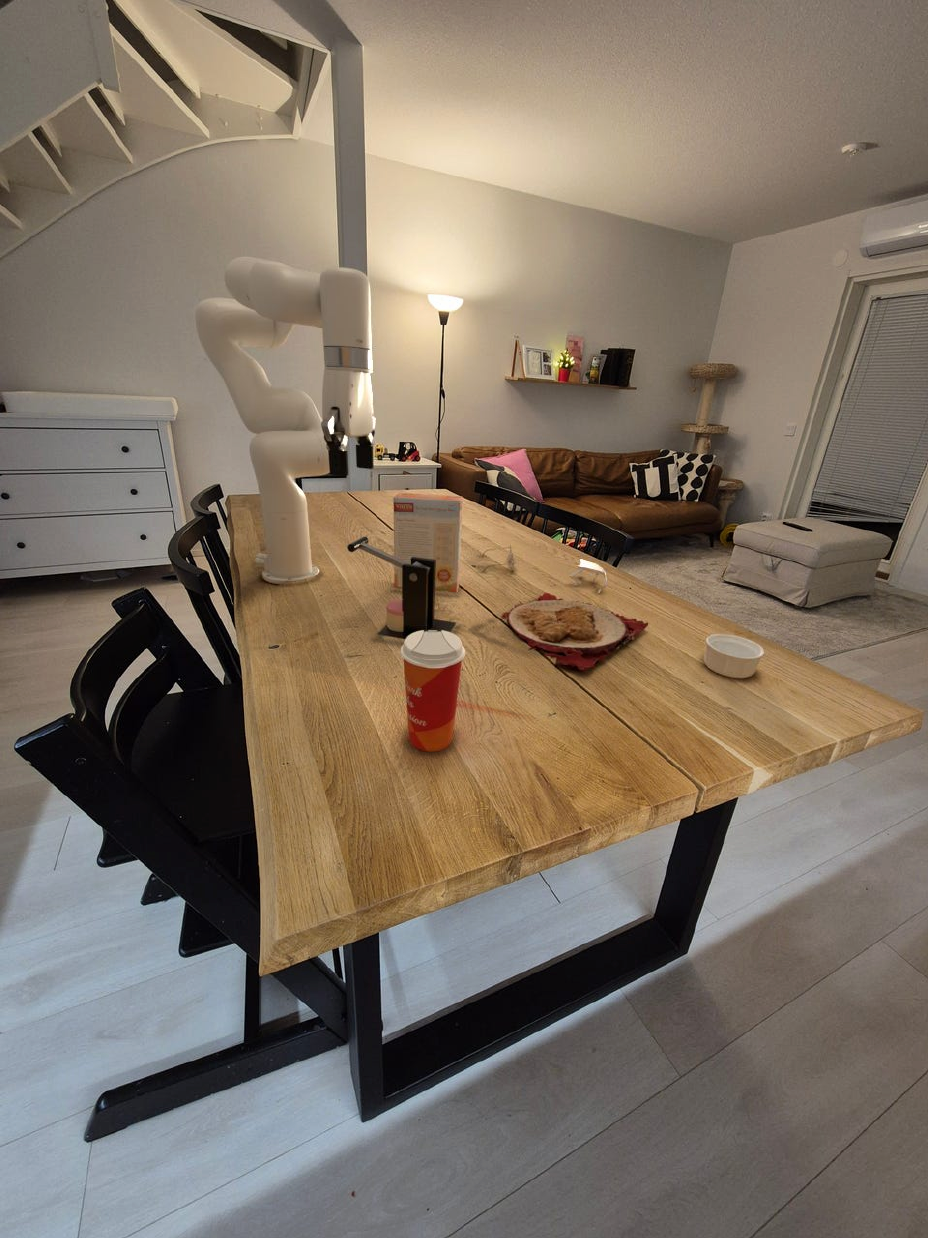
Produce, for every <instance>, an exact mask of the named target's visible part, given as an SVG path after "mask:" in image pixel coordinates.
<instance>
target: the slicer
mask: <svg viewBox="0 0 928 1238" xmlns="http://www.w3.org/2000/svg"><path fill="white" fill-rule="evenodd" d="M416 561H417V562H419V563H421V564H423V565H426V566H420V565H413V564H414V563H415V562H416ZM427 566H428V567H430V570H429V573H428V567H427ZM435 576H436V560H433V559H425V558H418V557H412V558H411V564H405V563H404V564H403V565H402V587H401V600H402V611H403V632H397V631H393V630H390V629H389V628H388V627H387V624H386V625H385V626H383V628H382V629H380V631H379V632H377V635H378V636H384V637H390V638H395V639H401V640H405V639H406V638H407V637H408V636H409V635H410V634H412V633H414V632H417V631H421V630H424V632H428V630H437V632H441V630H443V631H447V632H450V633H452V631H453V630H454V628H455V627H456V626H457V624H458V622H456V621H449V620H445V619H438V618H435V611H436V609H435V608H436V590H435Z"/></svg>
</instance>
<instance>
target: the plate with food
mask: <svg viewBox="0 0 928 1238" xmlns="http://www.w3.org/2000/svg"><path fill="white" fill-rule="evenodd" d="M562 597H563V596H562ZM562 597H561V598H557V596H556V595H553V594H551V593H549V592H544V593H543V594H542V595H539V596H538V597H537V599H536V600H531V601H529V603H527V602H526V603H521V604H518V605H517V604H515V605H514V607H513V608H511V609H510V611H506V612H504V613H502V614H501V618H506V617H507V618H506V621H507V623H508V624H509V626H510V628H511V629H512V631H513V633H515V634H516V635H517V636H518V637H519V638H520V639H521V640H522V641H525V642H526V645H528V646H529V647H530V648H528V649H531V650H536V649H537V647H538V648H540V649H541V651H542V652H544V650H546V651H545V652H544V655H546V656H550V659H555V662H556V663H558V664H562V665H564V666H571V667H577V669H578V670H579V671H584V670H588V669H589V668H594V666H595V663H596V662H597V661H598V662H600V663H602V662H603V661H604V660H605V659H606V657H607V656H609V655H611V654H612V653H613V652H614V651H615V650H619V649H620V647H624V646H625V647H626V645H627V643H628V642H630V641H634V640H635V636H636V635H637V634H640V633H642V631H644V630H645V629H647V627H648V625H649V624H650V623H649V622H648V621H646V622H644V621H643V620H637V619H636V618H628V617H625V616H624V615H620V614H619V613H614V612H613V611H611V610H608V609H605V608H603V607H602V608H601V607H598V606H596V605H593V604H592V603H591V602H584V601H578V600H565V599H564V598H562ZM548 612H554V614H553V615H555V617H554V616H553V615H550V614H549V613H548ZM492 628H493V629H494V628H495V627H494V626H492ZM620 641H621V643H622V644H621V645H619V646H616V645H617V644H618V643H619V642H620ZM556 653H563V654H560V655H559V654H556Z"/></svg>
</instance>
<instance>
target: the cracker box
mask: <svg viewBox="0 0 928 1238" xmlns="http://www.w3.org/2000/svg"><path fill="white" fill-rule="evenodd" d="M392 500H393V556H394V557H396V558H398V559H401V560H403V561H405V562H407V563H409V564H411V558H412V557H418V558H425V559H433V560H436V576H435V591H440V592H451V593H458V591H459V588H460V577H461V576H460V573H461V552H462V551H461V549H462V526H463V525H462V524H463V496H462V495H461V496H460V495H447V494H446V495H445V494H431V493H414V492H413V493H412V492H398V493H397V494H396V495H395V496H393V499H392ZM393 576H394V579H393V580H394V582H393V583H394V587H395V588H402V568H400V567H398V566H396V565H394V564H393Z"/></svg>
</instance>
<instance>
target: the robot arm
mask: <svg viewBox="0 0 928 1238" xmlns="http://www.w3.org/2000/svg"><path fill="white" fill-rule="evenodd" d="M224 283H225V286H226V289H227V290H228V293H229V294H230V296H231V297H232V298H228V297H209V298H206V299H203V300H201V301H200V302H199V303H198V304H197V306H196V308H195V315H194V316H195V317H194V318H195V327H196V332H197V335H198V338H199V341H200V344H201V346H202V349H203V350H204V352H205V354H206V356H207V358H208V359H209V361H210V362H211V364H212V365H213V367H214V368H215V370H216V371H217V372H218V374H219V375H220V377H221V378H222V380H223V381H224V383H225V386H226V388H227V391H228V393H229V395H230V397H231V400H232V402H233V404H234V406H235V408H236V411H237V413H238V416H239V418H240V419H241V421H242V423H243V425H244V427H245V428H246V429H247V430H248V431H249V432H251V433H252V434H256V435H255V436H254V437H252V439H251V441H250V443H249V455H250V460H251V464H252V467H253V470H254V474H255V478H256V483H257V487H258V492H259V500H260V508H261V515H262V523H263V525H262V526H263V533H264V541H265V549H266V553H257V554H256V555H255V556H256V557H255V558H254V564H255V565H262V566H263V570H262V571H261V577H262V579H263V580H264V581H265V582H268V583H270V584H274V585H281V584H283V583H285V582H293V581H302V580H306V579H310V578H313V577H315V576H317V575H318V574H319V573H320V568H319V567H317V566H316V565H314V564H313V563H312V551H311V537H310V526H309V525H310V523H309V513H308V502H307V496H306V494H305V492H303V490H302V489H301V488H300V487H299V486H298V484H297V483H296V481H295V479H299V478H305V477H320V476H325V475H327V474H330V475H331V476H337V477H348V476H349V457H348V456H349V454H348V450H346V447H347V444H348V441H349V439H353V438H355V440H356V442H357V444H355V460H356V461H355V463H356V468H357V469H365V470H366V469H367V470H373V469H374V466H375V465H374V463H375V462H374V461H375V460H374V445H375V439H374V438H375V434H376V431H375V428H376V422H377V420H376V418H375V416H374V401H373V388H372V380H371V374H373V354H372V353H373V351H372V306H371V284H370V279H369V276H367V274H366V273H364V272H363V271H361V270H359V269H355V268H352V267H351V268H350V267H342V266H332V267H327V268H324V269H323V270H322V271H321V273H318V272H314V271H310V270H306V269H300V268H295V267H293V266H290V265H288V264H285V263H282V262H280V261H276V260H270V259H264V258H259V257H254V256H239V257H236V258H234V259H232V260H231V261H229V263H228V264H227V266H226V268H225V270H224ZM296 325H297V326H306V327H315V328H317V329H321V330H322V331H321V332H322V347H323V367H324V369H323V375H322V389H321V406H322V407H321V415H320V413H319V411H318V409H317V407H316V405H315V402H314V401H313V399H312V398H311V396H310V395H308V394H307V393H306V392H305V391H304V390H301V389H298V388H291V387H277V386H274V385H272V384H271V382H270V381H269V379H268V377H267V375H266V372H265V370H264V369H263V367H262V365H261V364H260V363H259V362H258V361H257V360H256V359H255V358H254V357H253V356H252V355H250V354H249V353H248V352H247V351H245V350H244V349H243V348H242V347H247V348H255V349H256V348H257V349H267V350H275V349H279V348H281V347H282V346H284V345H285V343H286V342H287V340H288V338H289V337H290V334H291V332H292V331H293V329H294V327H295V326H296ZM321 416H322V417H321Z"/></svg>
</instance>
